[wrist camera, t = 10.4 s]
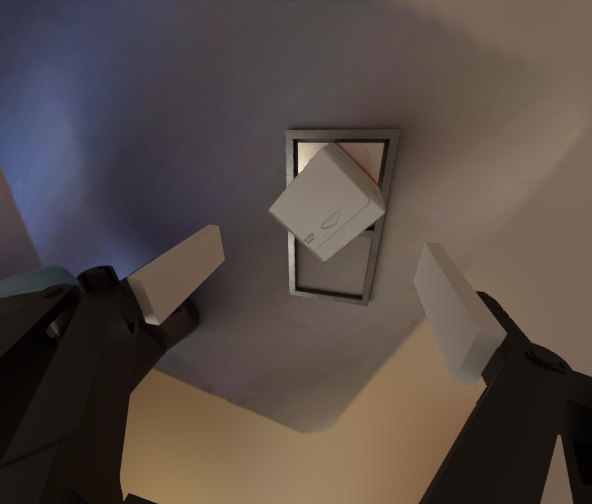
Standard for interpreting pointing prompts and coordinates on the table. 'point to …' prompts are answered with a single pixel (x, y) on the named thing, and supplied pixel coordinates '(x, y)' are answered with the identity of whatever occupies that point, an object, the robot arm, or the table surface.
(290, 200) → the ink box
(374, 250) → the grey flat rectangular frame
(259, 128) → the table surface
